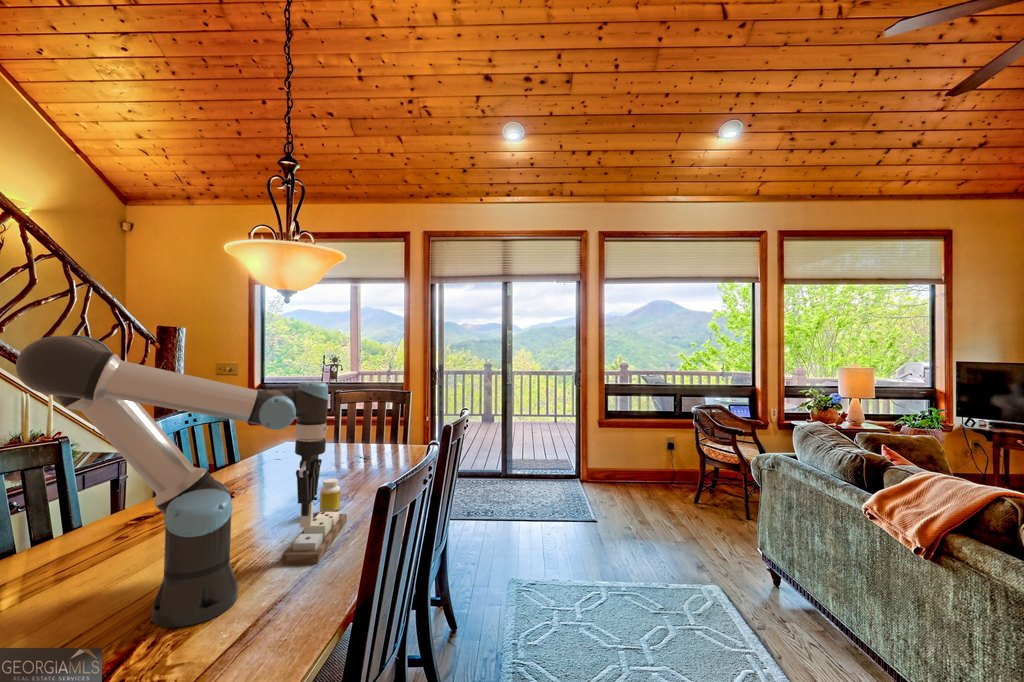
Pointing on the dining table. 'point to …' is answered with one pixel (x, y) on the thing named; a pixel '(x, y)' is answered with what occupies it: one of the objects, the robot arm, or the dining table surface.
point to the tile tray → (314, 555)
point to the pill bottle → (330, 496)
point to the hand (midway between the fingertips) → (306, 526)
